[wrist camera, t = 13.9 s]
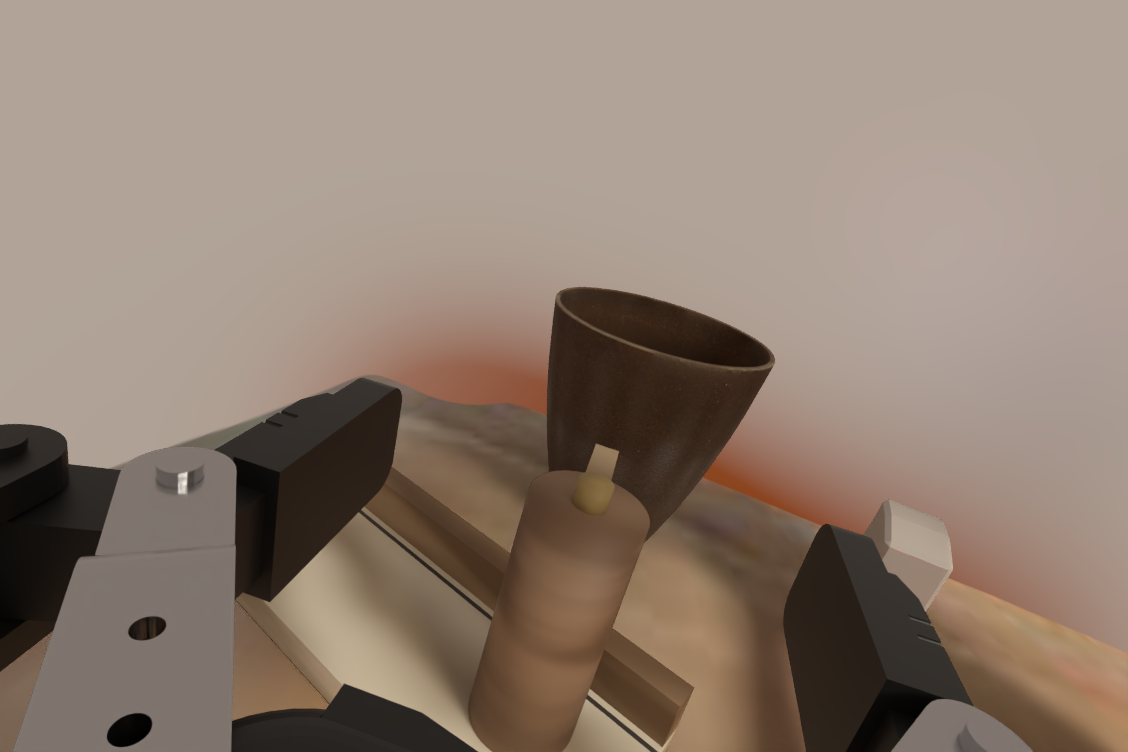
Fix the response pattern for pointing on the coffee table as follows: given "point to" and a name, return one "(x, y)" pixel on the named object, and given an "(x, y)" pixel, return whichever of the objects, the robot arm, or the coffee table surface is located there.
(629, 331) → the plant pot
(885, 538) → the mallet
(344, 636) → the board
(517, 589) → the cylinder
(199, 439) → the coffee table surface
